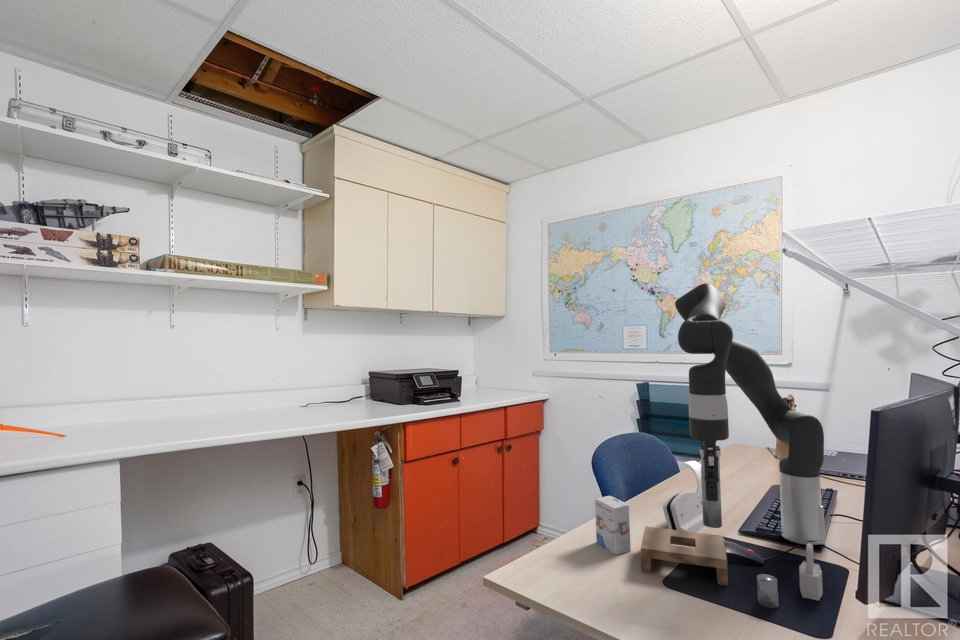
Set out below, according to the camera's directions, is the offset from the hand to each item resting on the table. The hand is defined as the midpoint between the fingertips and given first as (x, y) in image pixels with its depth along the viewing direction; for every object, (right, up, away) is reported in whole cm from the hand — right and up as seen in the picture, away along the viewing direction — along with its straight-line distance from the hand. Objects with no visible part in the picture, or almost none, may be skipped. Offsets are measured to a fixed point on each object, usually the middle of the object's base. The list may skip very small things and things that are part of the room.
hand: (711, 497), depth 105 cm
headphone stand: (+23, -22, +59) cm, 67 cm away
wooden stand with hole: (0, -21, +14) cm, 25 cm away
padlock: (+21, -20, 0) cm, 30 cm away
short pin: (+10, -20, -3) cm, 23 cm away
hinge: (+11, -22, +38) cm, 45 cm away
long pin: (0, -6, 0) cm, 6 cm away
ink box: (-14, -22, +25) cm, 36 cm away
